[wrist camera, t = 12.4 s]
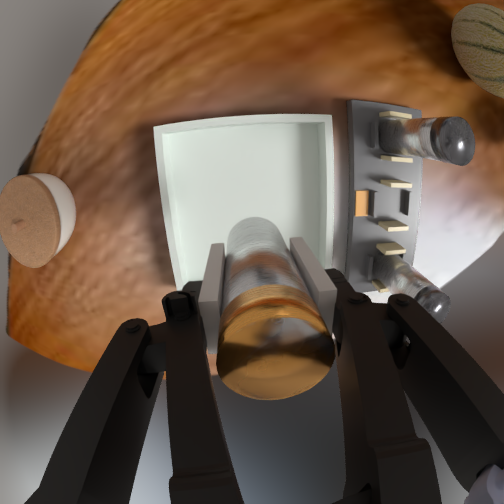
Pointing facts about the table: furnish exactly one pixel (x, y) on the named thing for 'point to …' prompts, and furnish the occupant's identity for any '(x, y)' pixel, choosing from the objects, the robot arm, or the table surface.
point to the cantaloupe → (481, 45)
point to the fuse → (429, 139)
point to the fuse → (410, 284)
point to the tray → (245, 183)
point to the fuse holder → (379, 194)
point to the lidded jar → (36, 217)
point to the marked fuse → (268, 318)
